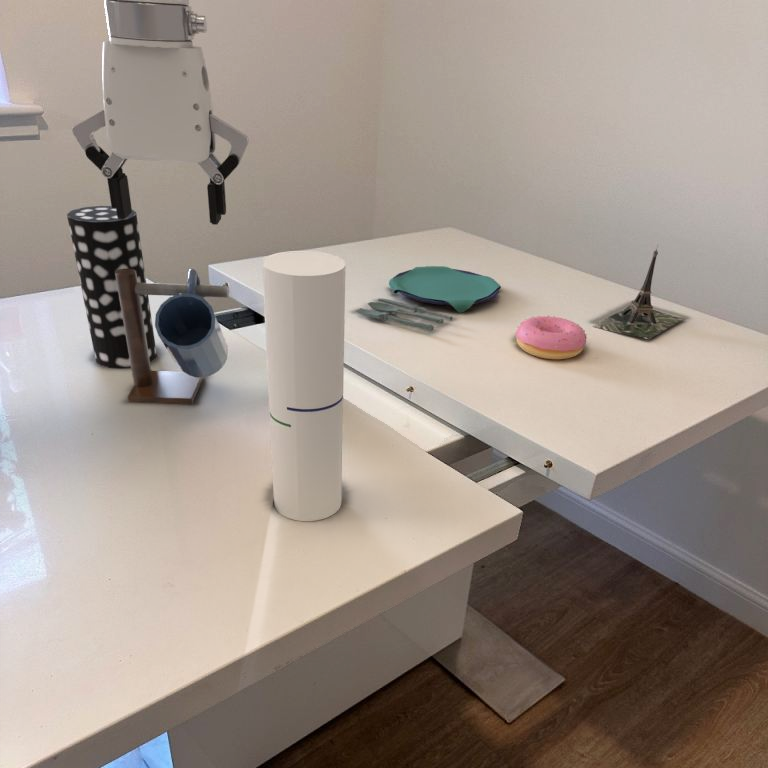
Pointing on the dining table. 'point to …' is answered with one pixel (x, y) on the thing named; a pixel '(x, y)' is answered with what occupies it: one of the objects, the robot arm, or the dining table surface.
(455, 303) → the cutlery set
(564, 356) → the doughnut
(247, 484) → the dining table surface
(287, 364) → the cylindrical container
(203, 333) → the mug
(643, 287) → the eiffel tower figurine
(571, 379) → the dining table surface
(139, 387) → the mug stand
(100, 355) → the white-spotted black cylinder
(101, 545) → the dining table surface
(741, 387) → the dining table surface
